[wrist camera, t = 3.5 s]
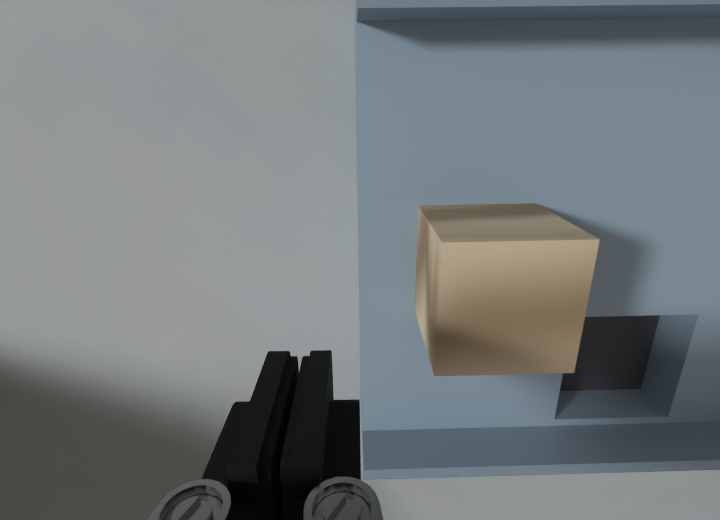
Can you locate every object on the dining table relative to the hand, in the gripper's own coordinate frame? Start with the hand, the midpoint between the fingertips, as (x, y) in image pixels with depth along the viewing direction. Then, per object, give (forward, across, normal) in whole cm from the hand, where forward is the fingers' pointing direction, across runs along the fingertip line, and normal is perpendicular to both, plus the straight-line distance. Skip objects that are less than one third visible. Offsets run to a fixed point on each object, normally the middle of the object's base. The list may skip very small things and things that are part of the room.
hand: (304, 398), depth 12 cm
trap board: (+11, -18, -1) cm, 21 cm away
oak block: (+8, -7, -1) cm, 11 cm away
